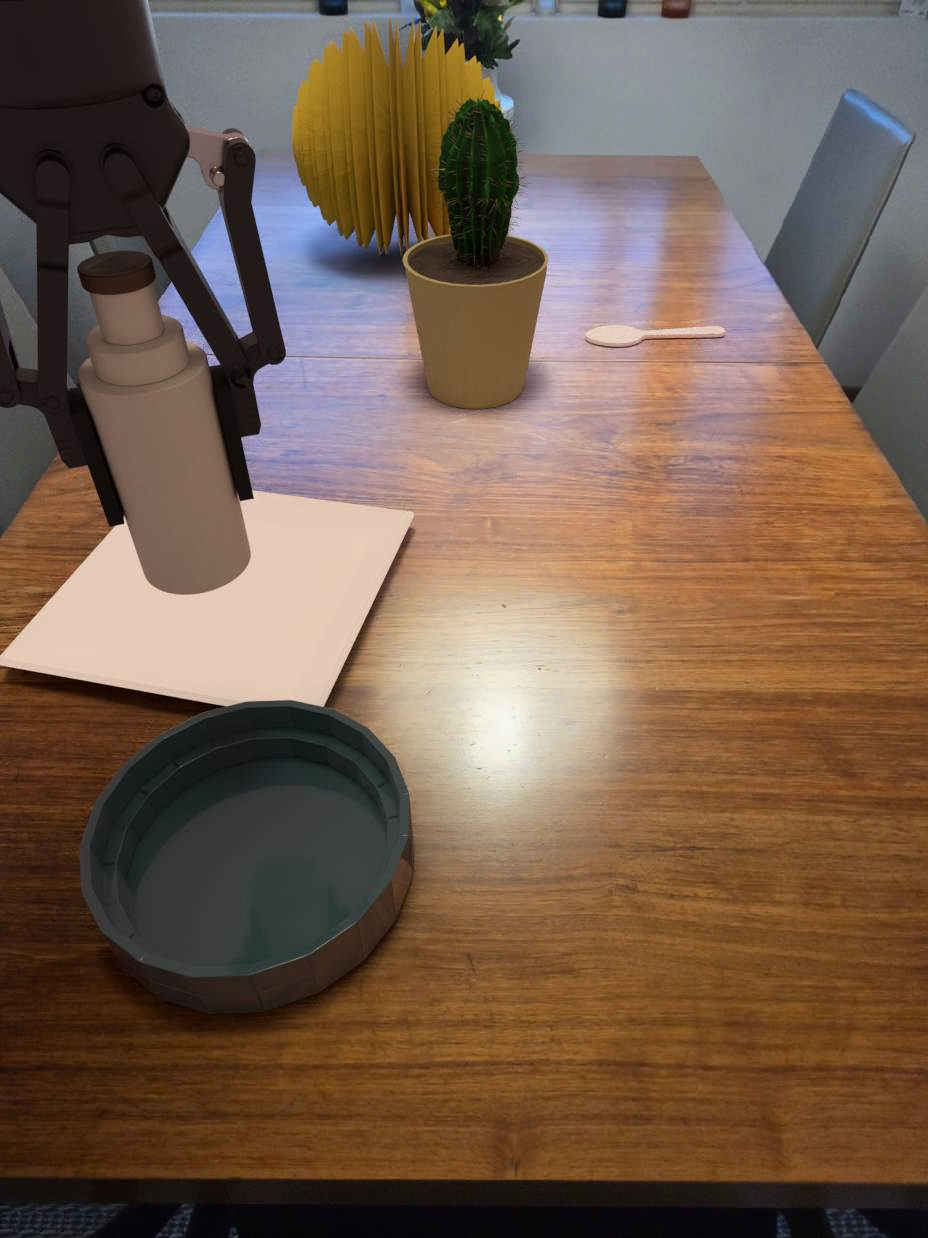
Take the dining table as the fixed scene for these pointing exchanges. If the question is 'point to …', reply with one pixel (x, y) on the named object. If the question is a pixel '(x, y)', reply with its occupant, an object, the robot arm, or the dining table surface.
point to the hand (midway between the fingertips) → (180, 497)
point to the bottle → (160, 431)
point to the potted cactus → (476, 269)
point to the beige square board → (224, 610)
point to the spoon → (645, 334)
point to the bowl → (249, 855)
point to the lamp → (381, 132)
